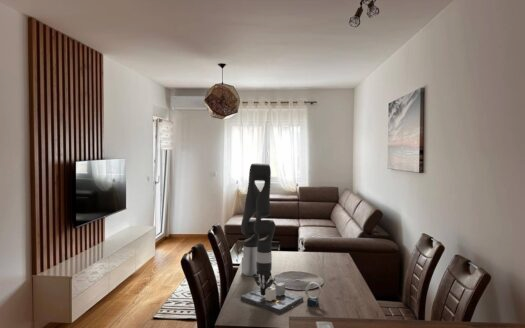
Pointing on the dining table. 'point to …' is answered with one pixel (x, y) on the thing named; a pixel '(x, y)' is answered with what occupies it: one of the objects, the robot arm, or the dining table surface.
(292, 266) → the dining table surface
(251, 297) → the panel
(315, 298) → the watch
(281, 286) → the fader grey
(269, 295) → the fader white
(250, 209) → the robot arm
